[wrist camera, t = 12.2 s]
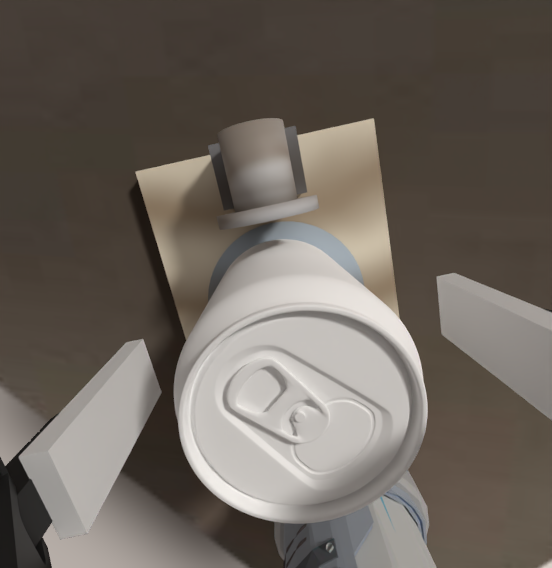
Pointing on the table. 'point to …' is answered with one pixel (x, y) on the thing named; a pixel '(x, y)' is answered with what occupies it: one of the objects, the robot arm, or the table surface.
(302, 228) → the cradle
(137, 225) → the table surface
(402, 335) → the beverage can
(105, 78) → the table surface
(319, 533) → the canister
